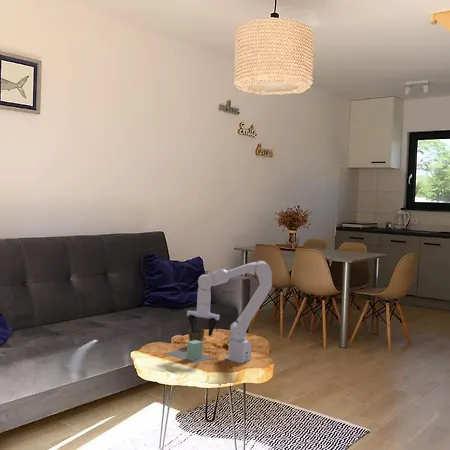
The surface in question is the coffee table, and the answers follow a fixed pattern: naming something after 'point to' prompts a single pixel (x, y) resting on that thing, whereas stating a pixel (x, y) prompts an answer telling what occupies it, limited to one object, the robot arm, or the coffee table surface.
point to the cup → (196, 335)
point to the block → (194, 350)
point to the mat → (183, 355)
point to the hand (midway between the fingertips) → (202, 334)
